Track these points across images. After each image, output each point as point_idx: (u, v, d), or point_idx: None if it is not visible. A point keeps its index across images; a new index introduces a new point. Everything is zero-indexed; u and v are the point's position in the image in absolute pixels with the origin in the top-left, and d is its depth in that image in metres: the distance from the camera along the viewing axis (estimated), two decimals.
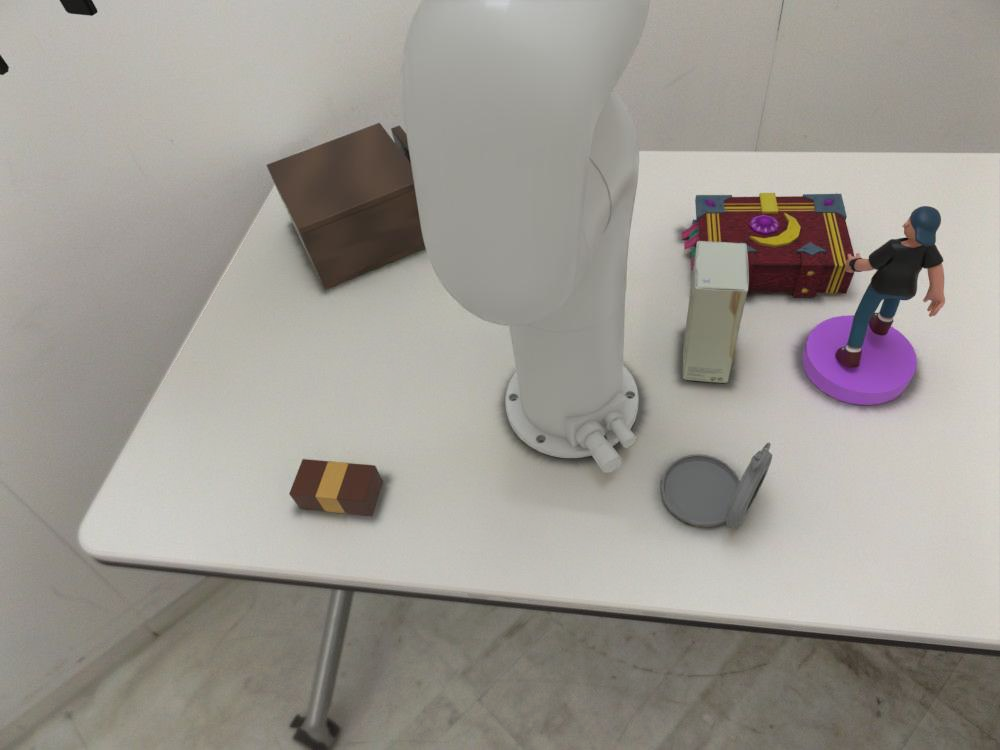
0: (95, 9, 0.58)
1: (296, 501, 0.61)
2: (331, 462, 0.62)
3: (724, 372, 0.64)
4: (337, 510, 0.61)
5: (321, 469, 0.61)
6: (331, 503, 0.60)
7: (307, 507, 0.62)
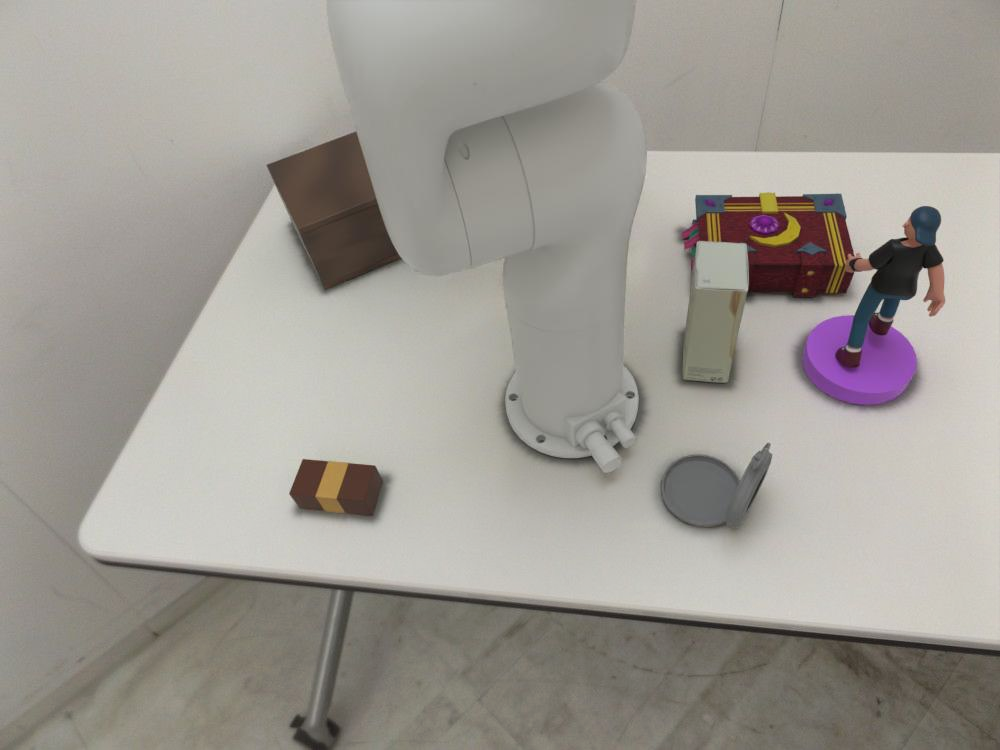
0: None
1: (296, 501, 0.61)
2: (331, 462, 0.62)
3: (724, 372, 0.64)
4: (337, 510, 0.61)
5: (321, 469, 0.61)
6: (331, 503, 0.60)
7: (307, 507, 0.62)
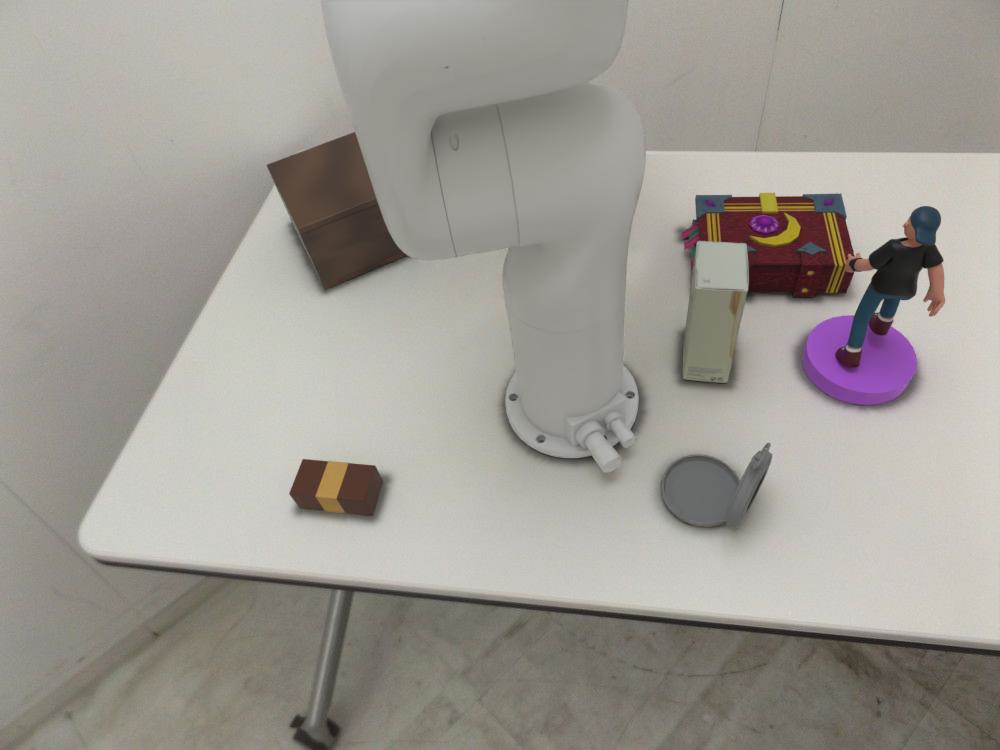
0: None
1: (296, 501, 0.61)
2: (331, 462, 0.62)
3: (724, 372, 0.64)
4: (337, 510, 0.61)
5: (321, 469, 0.61)
6: (331, 503, 0.60)
7: (307, 507, 0.62)
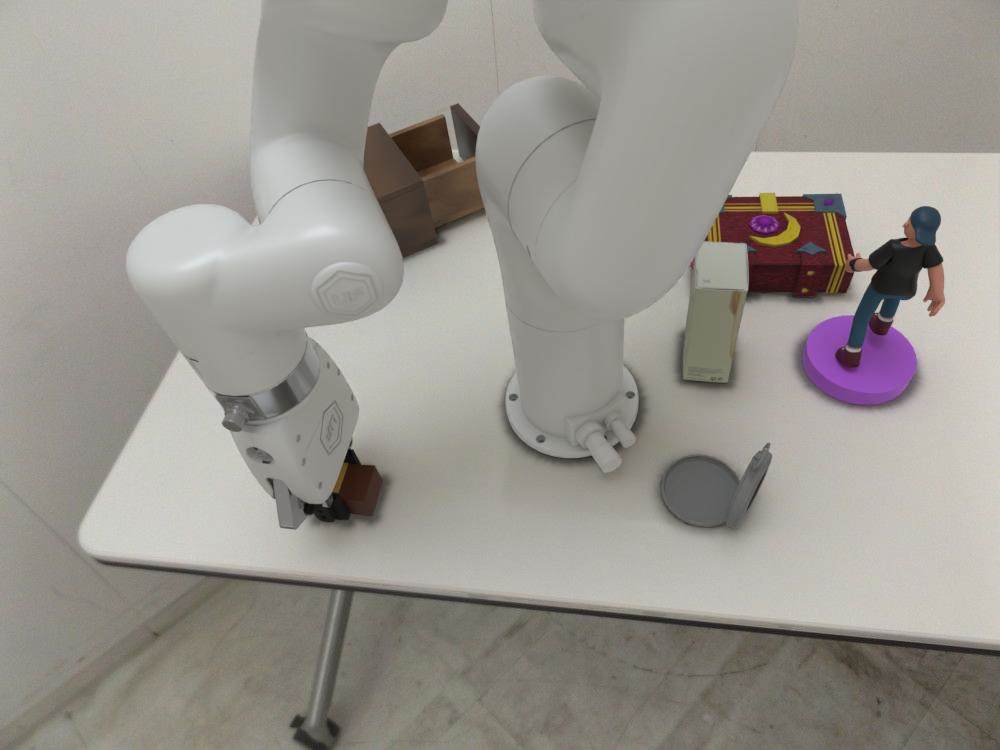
0: None
1: None
2: None
3: (724, 372, 0.64)
4: None
5: None
6: None
7: None
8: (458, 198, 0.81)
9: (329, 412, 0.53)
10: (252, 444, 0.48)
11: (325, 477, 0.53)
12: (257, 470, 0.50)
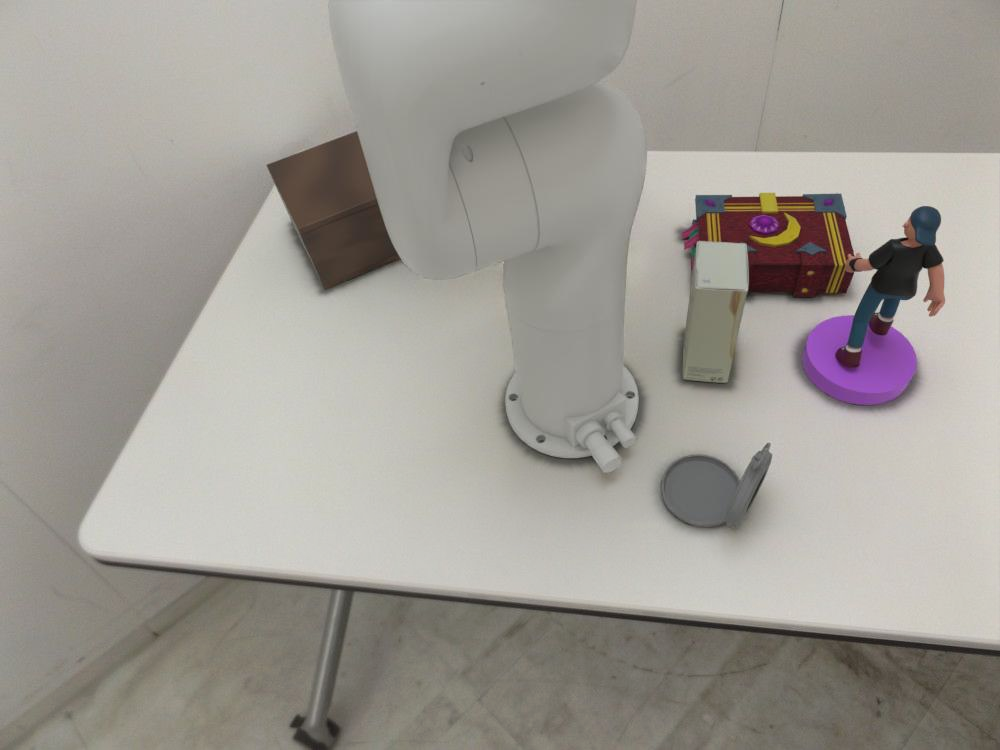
0: None
1: None
2: None
3: (724, 372, 0.64)
4: None
5: None
6: None
7: None
8: None
9: None
10: None
11: None
12: None
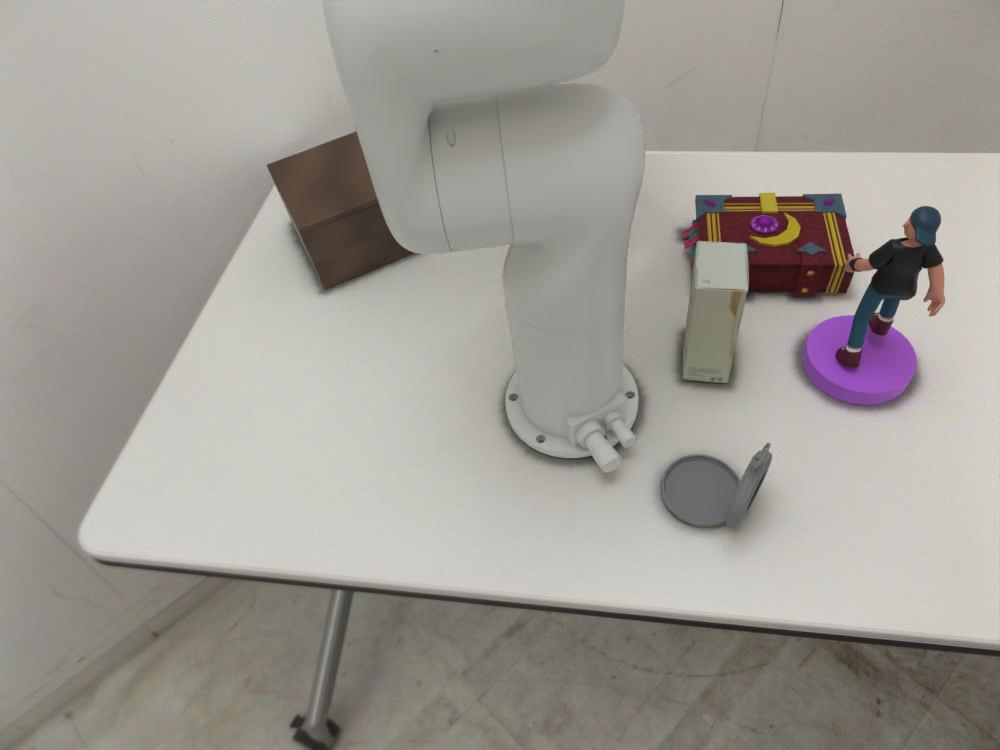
0: None
1: None
2: None
3: (724, 372, 0.64)
4: None
5: None
6: None
7: None
8: None
9: None
10: None
11: None
12: None
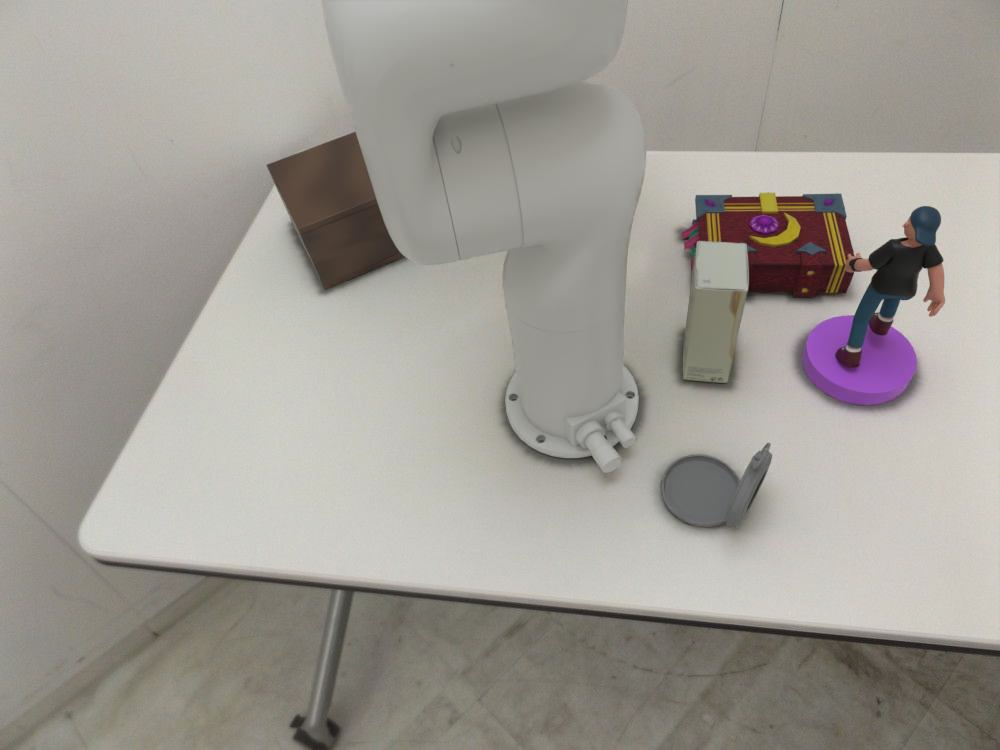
0: None
1: None
2: None
3: (724, 372, 0.64)
4: None
5: None
6: None
7: None
8: None
9: None
10: None
11: None
12: None
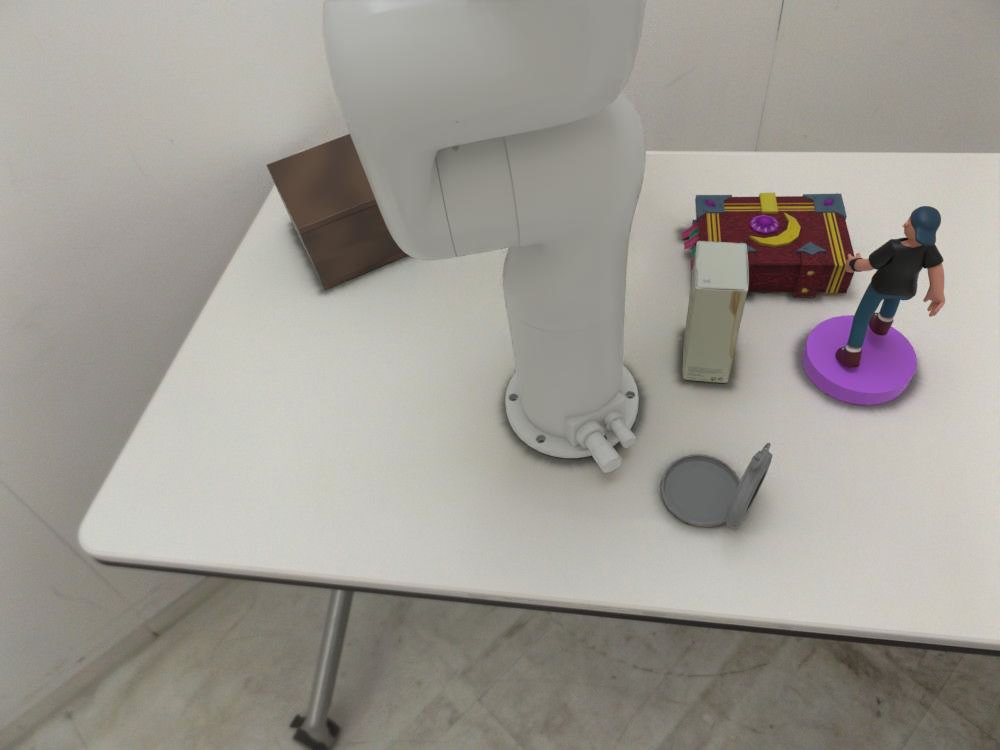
0: None
1: None
2: None
3: (724, 372, 0.64)
4: None
5: None
6: None
7: None
8: None
9: None
10: None
11: None
12: None
